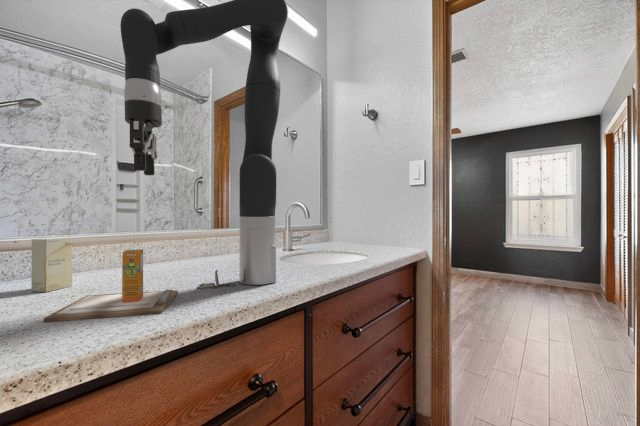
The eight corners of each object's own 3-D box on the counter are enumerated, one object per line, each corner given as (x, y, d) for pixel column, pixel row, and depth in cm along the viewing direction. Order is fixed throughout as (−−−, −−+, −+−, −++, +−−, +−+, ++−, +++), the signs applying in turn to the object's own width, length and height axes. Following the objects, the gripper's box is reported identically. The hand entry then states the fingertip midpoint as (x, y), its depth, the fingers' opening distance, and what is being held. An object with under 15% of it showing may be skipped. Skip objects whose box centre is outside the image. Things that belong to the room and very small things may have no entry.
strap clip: (197, 290, 71) (197, 273, 71) (198, 287, 74) (198, 270, 74) (234, 288, 74) (234, 270, 74) (234, 285, 76) (234, 268, 76)
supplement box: (120, 303, 57) (120, 251, 57) (125, 298, 61) (125, 249, 61) (140, 301, 59) (140, 250, 59) (144, 296, 62) (143, 248, 62)
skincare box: (45, 292, 68) (45, 239, 68) (30, 291, 69) (30, 239, 69) (73, 286, 74) (73, 237, 74) (59, 285, 75) (58, 236, 75)
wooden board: (178, 292, 68) (178, 284, 68) (161, 313, 54) (161, 303, 54) (86, 298, 64) (86, 289, 64) (43, 321, 50) (43, 311, 50)
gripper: (154, 94, 64) (156, 169, 64) (166, 114, 78) (168, 176, 78) (114, 90, 62) (116, 168, 62) (133, 112, 76) (135, 176, 76)
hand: (145, 173), depth 70 cm, fingers open, 8 cm apart
